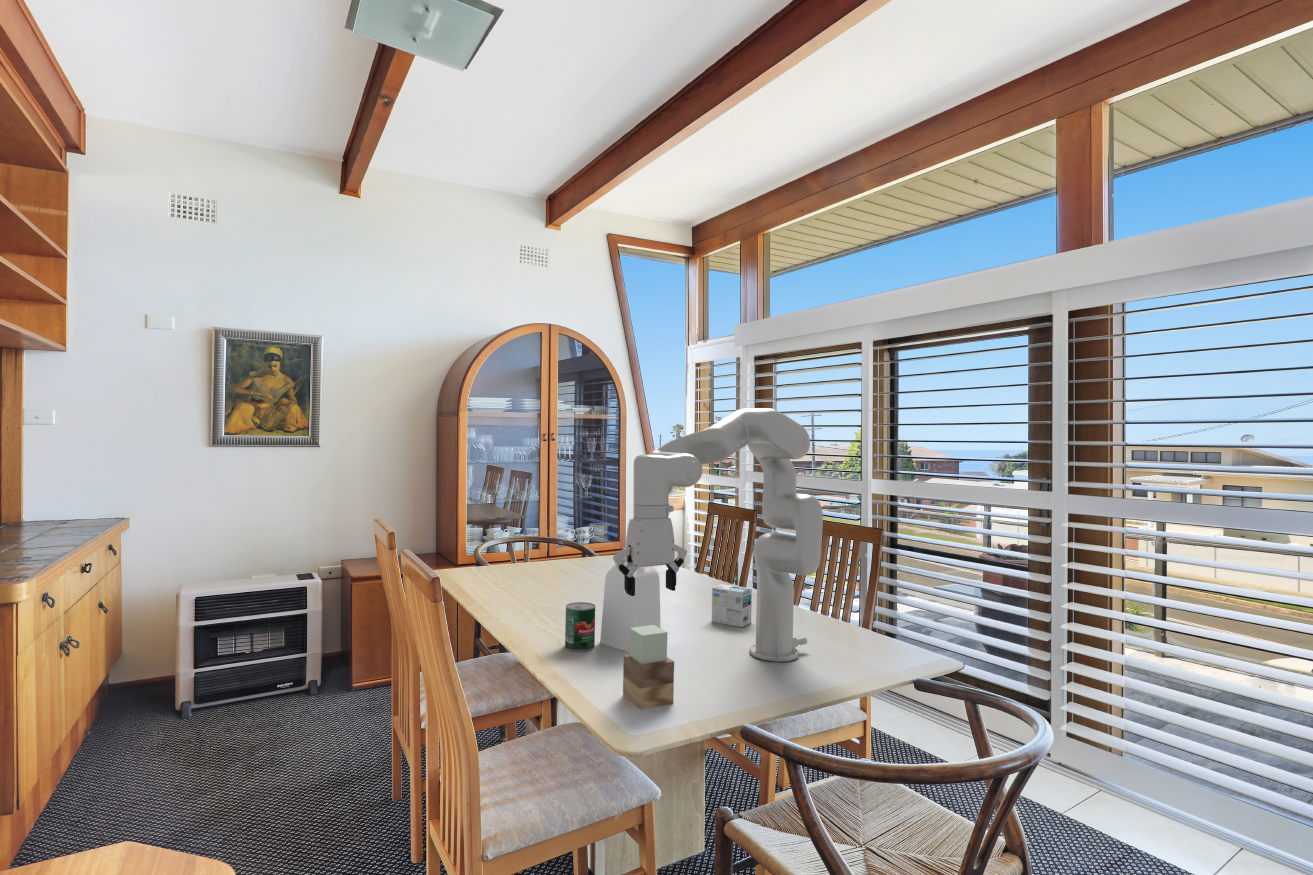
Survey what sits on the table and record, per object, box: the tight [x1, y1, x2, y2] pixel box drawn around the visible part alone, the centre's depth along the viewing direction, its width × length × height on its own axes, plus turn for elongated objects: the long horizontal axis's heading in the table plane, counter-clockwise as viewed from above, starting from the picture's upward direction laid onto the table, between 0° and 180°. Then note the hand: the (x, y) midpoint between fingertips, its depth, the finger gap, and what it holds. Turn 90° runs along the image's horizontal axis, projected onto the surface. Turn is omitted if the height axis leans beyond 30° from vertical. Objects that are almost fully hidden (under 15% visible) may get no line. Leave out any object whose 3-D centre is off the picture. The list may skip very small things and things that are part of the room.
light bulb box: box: [711, 583, 753, 628], centre depth 206 cm, size 11×7×11 cm, turn 58°
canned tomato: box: [564, 601, 597, 653], centre depth 178 cm, size 8×8×11 cm
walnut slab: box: [622, 654, 675, 689], centre depth 144 cm, size 8×8×4 cm
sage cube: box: [628, 625, 668, 664], centre depth 144 cm, size 6×6×6 cm
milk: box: [599, 547, 662, 653], centre depth 183 cm, size 12×12×26 cm
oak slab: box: [622, 675, 675, 711], centre depth 144 cm, size 8×8×4 cm
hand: (650, 591), depth 144 cm, fingers open, 9 cm apart
